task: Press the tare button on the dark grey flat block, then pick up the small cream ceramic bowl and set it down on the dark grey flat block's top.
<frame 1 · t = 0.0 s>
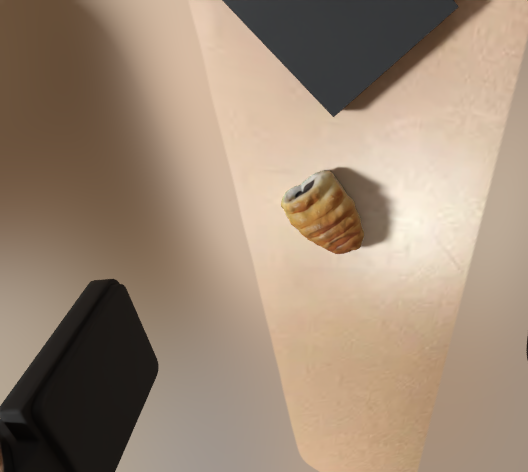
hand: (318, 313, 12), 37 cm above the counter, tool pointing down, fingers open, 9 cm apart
pastry: (325, 204, 53), on the counter
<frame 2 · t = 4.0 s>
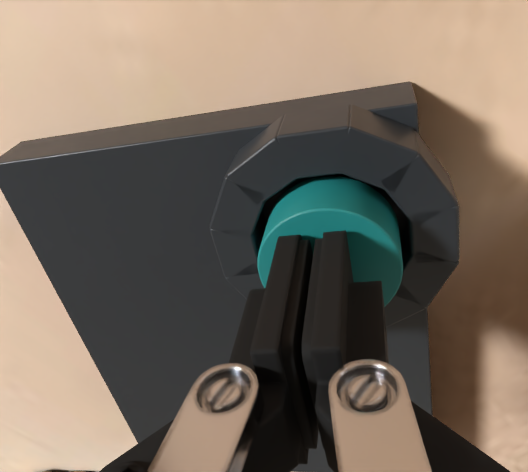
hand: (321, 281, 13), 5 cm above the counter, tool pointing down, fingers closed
dark grey flat block: (251, 307, 20), on the counter
tare button: (330, 251, 13), point 4 cm above the counter, slide at -0.1 cm, touching gripper
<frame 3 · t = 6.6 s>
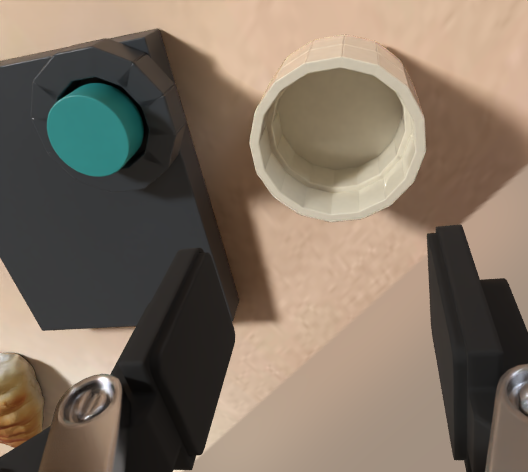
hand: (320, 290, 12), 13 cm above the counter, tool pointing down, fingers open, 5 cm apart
dark grey flat block: (97, 197, 28), on the counter
bowl: (339, 109, 23), on the counter
tare button: (96, 130, 21), point 4 cm above the counter, slide at 0.1 cm
pastry: (12, 382, 39), on the counter
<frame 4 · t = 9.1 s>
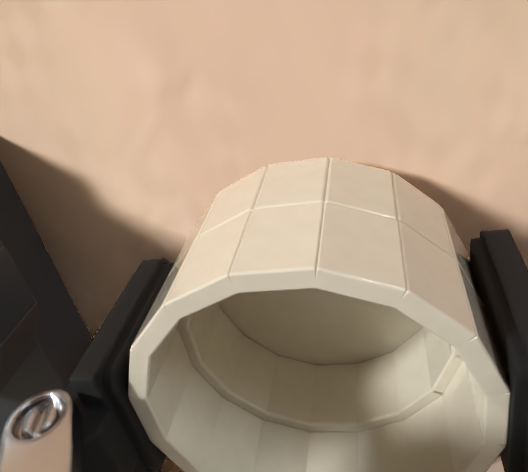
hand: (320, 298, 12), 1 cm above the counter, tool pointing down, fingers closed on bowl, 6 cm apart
bowl: (322, 272, 13), on the counter, touching gripper
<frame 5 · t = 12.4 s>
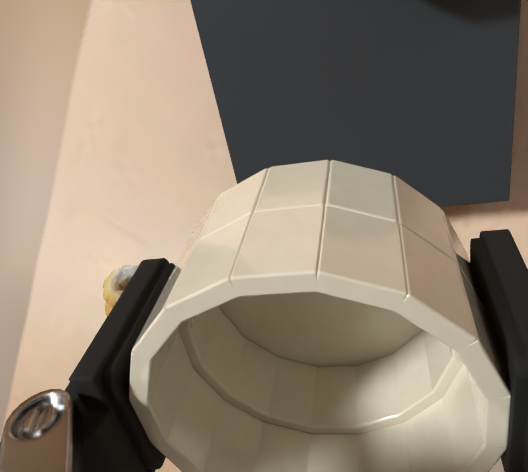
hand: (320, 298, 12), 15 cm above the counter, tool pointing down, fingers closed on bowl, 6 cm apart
dark grey flat block: (353, 42, 23), on the counter
bowl: (323, 274, 13), point 14 cm above the counter, touching gripper
pastry: (169, 305, 34), on the counter
when the fingers open (3 cm above the counter, at t = 15.7 s): bowl stays where it is, resting on dark grey flat block.
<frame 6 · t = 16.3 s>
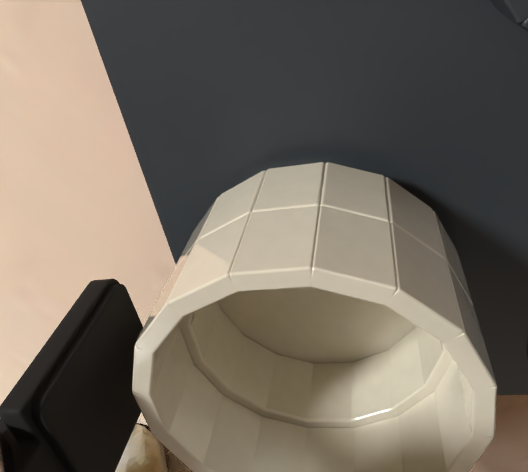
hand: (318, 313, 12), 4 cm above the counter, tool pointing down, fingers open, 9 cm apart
dark grey flat block: (406, 121, 13), on the counter
bowl: (319, 273, 13), point 2 cm above the counter, touching dark grey flat block
pastry: (118, 465, 24), on the counter
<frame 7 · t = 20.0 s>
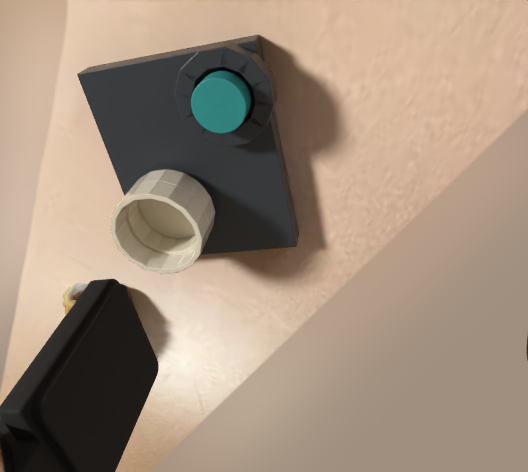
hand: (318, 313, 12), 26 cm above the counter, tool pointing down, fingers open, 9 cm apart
dark grey flat block: (200, 155, 39), on the counter
bowl: (174, 205, 40), point 2 cm above the counter, touching dark grey flat block
tare button: (221, 102, 32), point 4 cm above the counter, slide at 0.1 cm
pastry: (110, 309, 50), on the counter
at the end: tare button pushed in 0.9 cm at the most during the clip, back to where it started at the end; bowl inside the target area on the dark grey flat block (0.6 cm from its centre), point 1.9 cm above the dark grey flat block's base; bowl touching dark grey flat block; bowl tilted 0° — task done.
